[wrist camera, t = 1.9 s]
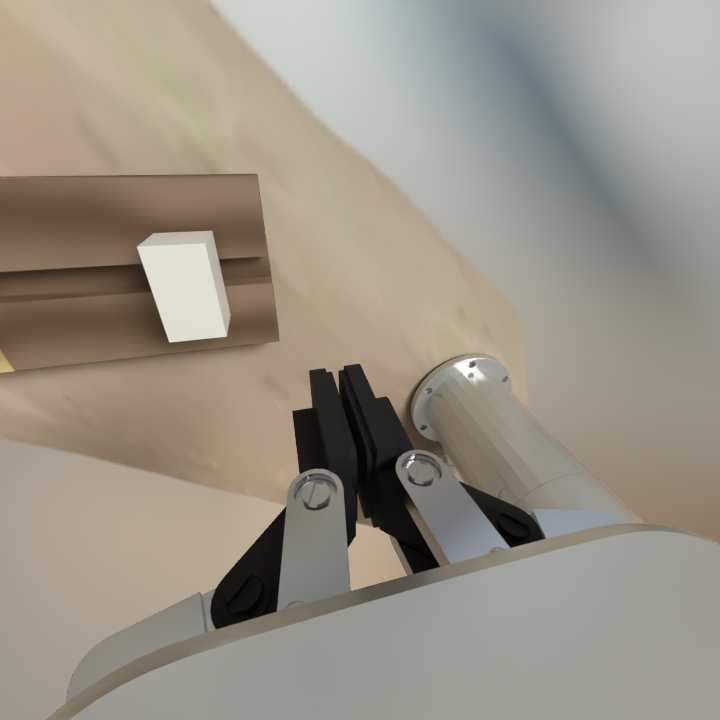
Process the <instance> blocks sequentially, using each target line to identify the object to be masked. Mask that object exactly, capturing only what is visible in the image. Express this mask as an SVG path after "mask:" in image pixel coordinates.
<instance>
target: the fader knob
mask: <svg viewBox="0 0 720 720" xmlns="http://www.w3.org/2000/svg"><path fill="white" fill-rule="evenodd" d="M137 249H138V252H139V255H140V258H141V261H142V264H143V266H144V269H145V272H146V275H147V278H148V281H149V284H150V287H151V290H152V293H153V296H154V299H155V302H156V305H157V308H158V311H159V314H160V317H161V319H162V322H163V325H164V328H165V331H166V334H167V337H168V340H169V343H170V342H180V341H189V340H199V339H209V338H218V337H227V332H228V327H229V321H230V316H231V314H230V310H229V305H228V300H227V296H226V291H225V287H224V282H223V277H222V273H221V268H220V264H219V259H218V254H217V250H216V245H215V241H214V236H213V231H193V232H170V233H153V234H152V235H151V236H149V237H148V238H147V239H146V240H145V241H143V242H142V243H141V244H140V245H138V246H137Z"/></svg>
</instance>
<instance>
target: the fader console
mask: <svg viewBox="0 0 720 720" xmlns="http://www.w3.org/2000/svg"><path fill="white" fill-rule="evenodd" d="M193 231H213V236H214V241H215V245H216V250H217V254H218V259H219V264H220V268H221V273H222V277H223V282H224V287H225V291H226V296H227V300H228V305H229V310H230V314H231V316H230V321H229V327H228V332H227V337H218V338H209V339H199V340H189V341H180V342H170V343H169V340H168V337H167V334H166V331H165V328H164V325H163V322H162V319H161V317H160V314H159V311H158V308H157V305H156V302H155V299H154V296H153V293H152V290H151V287H150V284H149V281H148V278H147V275H146V272H145V269H144V266H143V264H142V261H141V258H140V255H139V252H138V249H137V246H138V245H140V244H141V243H142V242H143V241H145V240H146V239H147V238H148V237H149V236H151V235H152V234H153V233H170V232H193ZM278 341H279V330H278V321H277V314H276V307H275V300H274V292H273V285H272V278H271V271H270V264H269V256H268V249H267V242H266V235H265V227H264V220H263V213H262V206H261V199H260V191H259V184H258V177H257V174H211V175H120V176H29V177H0V373H4V372H13V371H16V370H25V369H34V368H43V367H52V366H61V365H70V364H80V363H89V362H98V361H107V360H116V359H125V358H134V357H143V356H152V355H161V354H170V353H179V352H188V351H197V350H206V349H215V348H224V347H233V346H242V345H251V344H260V343H269V342H278Z"/></svg>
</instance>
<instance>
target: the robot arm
mask: <svg viewBox="0 0 720 720" xmlns="http://www.w3.org/2000/svg"><path fill="white" fill-rule="evenodd" d="M309 374H310V385H311V396H312V407H313V408H309V409H302V410H296V411H292V412H293V421H294V429H295V438H296V446H297V455H298V463H299V472H300V475H299V476H297V477H296V478H295V479H294V480H293V482H292V483H291V485H290V487H289V490H288V495H287V506H286V507H285V508H284V510H283V511H282V512H281V513H280V514H279V515H278V516H277V518H276V519H275V520H274V521H273V522H272V523H271V524H270V525H269V527H268V528H267V529H266V530H265V531H264V532H263V533H262V535H261V536H260V537H259V538H258V539H257V540H256V541H255V543H254V544H253V545H252V546H251V547H250V548H249V549H248V551H247V552H246V553H245V554H244V555H243V556H242V557H241V559H240V560H239V561H238V562H237V563H236V564H235V565H234V567H233V568H232V569H231V570H230V571H229V572H228V574H227V575H226V576H225V577H224V578H223V579H222V581H221V582H220V584H219V585H218V587H217V588H216V589H214V590H212V591H210V592H208V593H206V594H204V595H201V593H200V592H199V593H197V594H195V595H193V596H191V597H189V598H187V599H185V600H183V601H181V602H179V603H176V604H174V605H172V606H170V607H168V608H167V609H165V610H162V611H160V612H158V613H156V614H155V615H152V616H150V617H148V618H146V619H144V620H142V621H140V622H138V623H136V624H134V625H132V626H130V627H128V628H126V629H124V630H122V631H120V632H118V633H115V634H114V635H111V636H109V637H108V638H106V639H105V640H103V641H102V642H100V643H99V644H97V645H96V646H94V647H93V648H92V649H91V651H90V652H88V654H87V655H86V656H85V657H84V658H83V659H82V660H81V662H80V663H79V665H78V667H77V668H76V670H75V671H74V673H73V675H72V677H71V681H70V684H69V687H68V690H67V696H66V704H65V705H63V706H62V707H60V708H59V709H58V710H57V711H56V712H54V713H53V714H52V715H51V716H50V717H49V718H47V719H46V720H720V544H718V543H717V542H715V541H713V540H711V539H708V538H706V537H704V536H702V535H699V534H696V533H692V532H689V531H685V530H682V529H678V528H674V527H667V526H660V525H654V524H645V523H644V522H643V521H642V520H641V519H640V518H639V517H638V516H637V515H636V514H634V513H633V512H632V511H631V510H630V509H629V508H628V507H627V506H626V505H625V504H624V503H623V502H622V501H621V500H619V498H618V497H616V496H615V495H614V494H613V493H612V492H611V491H610V490H609V489H608V488H607V487H606V486H605V485H604V484H603V483H602V482H601V481H600V480H599V479H598V478H597V477H596V476H595V475H593V473H592V472H591V471H589V469H587V467H586V466H585V465H584V464H582V462H580V461H579V460H578V459H577V458H576V457H575V456H574V455H573V454H572V453H571V452H570V451H569V450H568V449H567V448H566V447H565V446H564V445H563V444H562V443H561V442H560V441H559V440H558V439H557V438H556V437H555V436H554V435H553V434H552V433H551V432H550V431H549V430H548V429H547V428H546V427H545V426H544V425H543V424H542V423H541V422H540V421H539V420H538V419H537V418H536V417H535V416H534V415H533V414H532V413H531V412H530V411H529V410H528V409H527V408H526V407H525V406H524V405H523V404H522V403H521V402H520V401H519V400H518V399H517V398H516V397H515V396H514V395H513V394H512V393H511V388H512V386H511V377H510V374H509V372H508V371H507V369H506V368H505V367H504V366H503V365H502V364H501V363H500V362H499V361H498V360H496V359H494V358H493V357H490V356H487V355H481V354H471V355H464V356H461V357H457V358H454V359H452V360H450V361H447V362H446V363H444V364H442V365H441V366H439V367H437V368H436V369H435V370H434V371H433V372H431V373H430V374H429V375H428V376H427V377H426V378H425V379H424V380H423V382H422V383H421V384H420V386H419V387H418V389H417V390H416V392H415V395H414V397H413V400H412V404H411V417H412V421H413V423H414V425H415V427H416V429H417V430H418V431H419V433H420V434H421V435H423V436H424V437H425V438H427V439H430V440H432V441H436V442H440V444H441V445H442V447H443V454H444V455H445V457H444V459H443V461H442V460H441V459H440V458H439V457H438V456H436V455H435V454H433V453H431V452H428V451H425V450H414V448H413V446H412V444H411V442H410V440H409V438H408V436H407V434H406V432H405V430H404V428H403V426H402V424H401V422H400V420H399V418H398V416H397V414H396V412H395V410H394V408H393V406H392V404H391V402H390V400H389V399H388V398H387V397H381V398H375V396H374V394H373V391H372V389H371V387H370V385H369V383H368V380H367V378H366V376H365V374H364V372H363V369H362V367H361V365H360V364H355V365H347V366H344V370H340V371H339V393H338V390H337V387H336V383H335V380H334V377H333V374H332V372H326V369H325V368H324V369H316V370H310V371H309ZM456 472H458V473H459V475H460V476H461V478H462V480H463V481H464V483H465V484H464V483H462V482H460V481H458V480H457V479H456V477H455V476H454V475H455V474H456ZM357 493H358V496H359V500H360V503H361V507H362V511H363V514H364V517H365V519H366V518H370V517H371V520H372V524H373V527H374V528H375V527H380V530H382V531H384V532H385V533H387V534H389V535H390V539H391V542H392V545H393V547H394V549H395V551H396V553H397V555H398V557H399V559H400V561H401V563H402V565H403V567H404V569H405V572H406V573H407V576H405V577H401V578H398V579H394V580H390V581H387V582H383V583H379V584H376V585H372V586H368V587H365V588H361V589H358V590H354V591H351V589H350V576H349V561H348V547H349V545H350V543H351V542H352V540H353V539H354V537H355V536H356V521H357Z"/></svg>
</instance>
